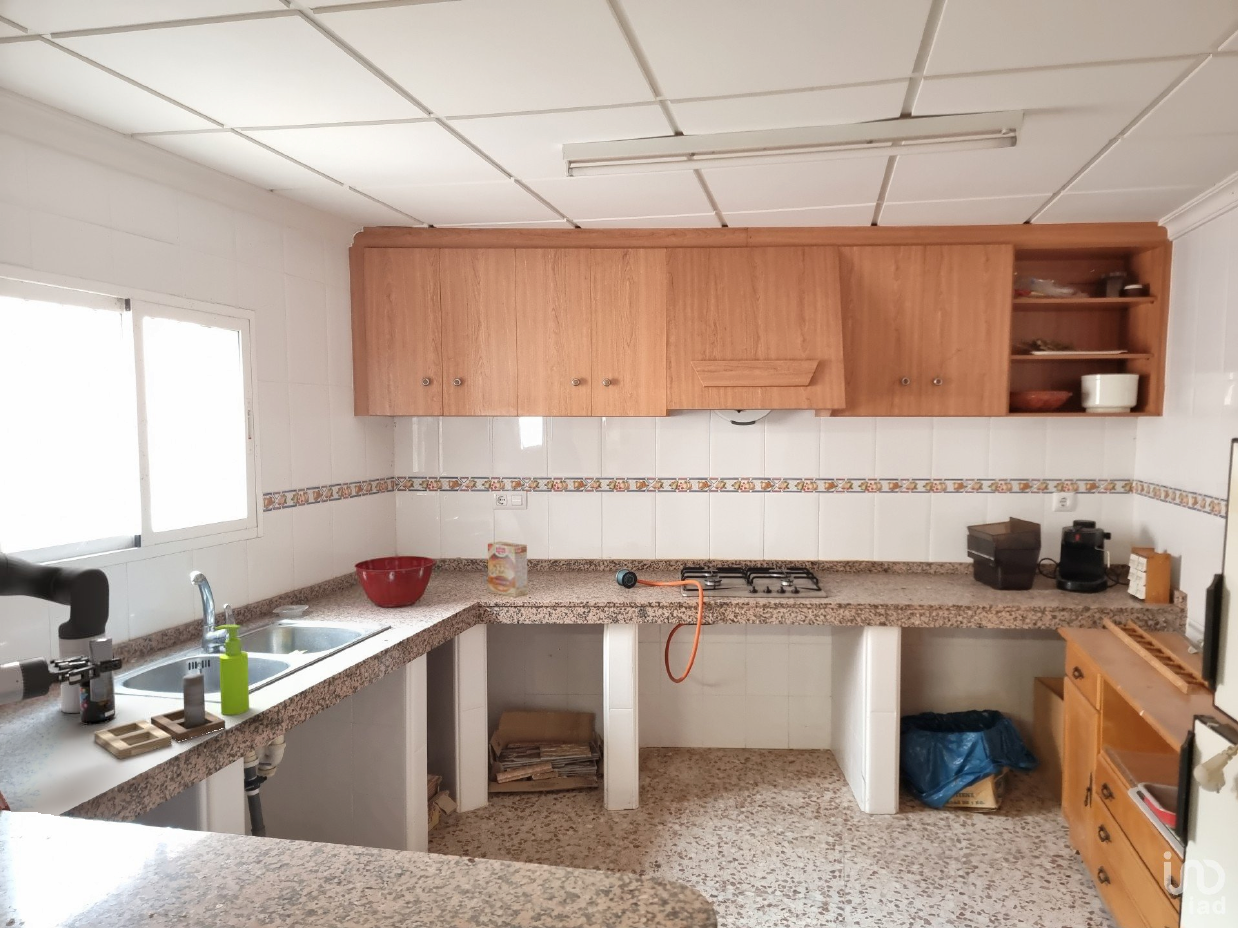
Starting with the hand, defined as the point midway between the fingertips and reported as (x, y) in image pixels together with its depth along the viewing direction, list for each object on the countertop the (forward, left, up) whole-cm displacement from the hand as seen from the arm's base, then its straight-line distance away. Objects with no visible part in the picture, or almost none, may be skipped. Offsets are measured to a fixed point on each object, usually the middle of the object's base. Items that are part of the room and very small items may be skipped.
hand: (116, 660), depth 166 cm
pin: (0, -3, -7) cm, 8 cm away
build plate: (0, +2, -18) cm, 18 cm away
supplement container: (-21, +2, -18) cm, 28 cm away
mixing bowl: (-68, +113, -18) cm, 133 cm away
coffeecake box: (-49, +151, -18) cm, 160 cm away
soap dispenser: (-3, +24, -18) cm, 31 cm away
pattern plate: (0, +13, -18) cm, 22 cm away
